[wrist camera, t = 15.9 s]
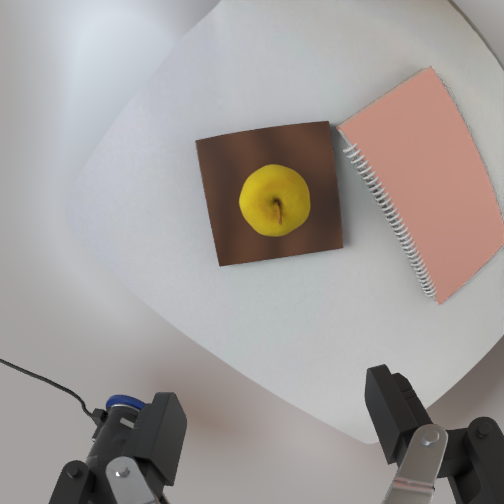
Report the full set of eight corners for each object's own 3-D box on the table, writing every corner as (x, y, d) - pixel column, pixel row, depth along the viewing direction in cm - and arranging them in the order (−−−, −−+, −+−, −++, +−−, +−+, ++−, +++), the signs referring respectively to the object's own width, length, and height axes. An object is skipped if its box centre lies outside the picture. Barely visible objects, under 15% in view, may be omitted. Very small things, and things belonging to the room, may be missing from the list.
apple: (274, 237, 31) (280, 263, 24) (229, 197, 30) (219, 211, 22) (315, 193, 30) (335, 205, 22) (270, 151, 28) (275, 148, 21)
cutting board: (221, 262, 34) (219, 266, 32) (197, 141, 29) (194, 140, 28) (340, 244, 33) (343, 248, 31) (325, 122, 28) (328, 120, 27)
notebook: (327, 133, 29) (331, 131, 27) (424, 68, 25) (432, 65, 23) (428, 304, 35) (434, 311, 33) (500, 236, 32) (508, 240, 30)
